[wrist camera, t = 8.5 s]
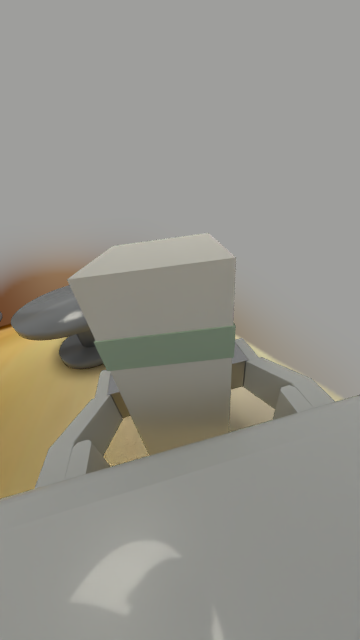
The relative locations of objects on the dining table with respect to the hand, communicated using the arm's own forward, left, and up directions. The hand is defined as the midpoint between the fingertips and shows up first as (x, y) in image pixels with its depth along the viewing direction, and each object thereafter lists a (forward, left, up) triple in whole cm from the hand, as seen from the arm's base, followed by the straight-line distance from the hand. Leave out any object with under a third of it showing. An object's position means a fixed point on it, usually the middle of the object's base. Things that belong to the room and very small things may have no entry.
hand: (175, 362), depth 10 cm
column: (0, -1, -8) cm, 8 cm away
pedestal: (-12, +13, -8) cm, 19 cm away
